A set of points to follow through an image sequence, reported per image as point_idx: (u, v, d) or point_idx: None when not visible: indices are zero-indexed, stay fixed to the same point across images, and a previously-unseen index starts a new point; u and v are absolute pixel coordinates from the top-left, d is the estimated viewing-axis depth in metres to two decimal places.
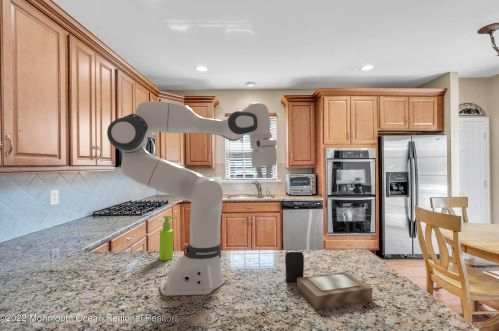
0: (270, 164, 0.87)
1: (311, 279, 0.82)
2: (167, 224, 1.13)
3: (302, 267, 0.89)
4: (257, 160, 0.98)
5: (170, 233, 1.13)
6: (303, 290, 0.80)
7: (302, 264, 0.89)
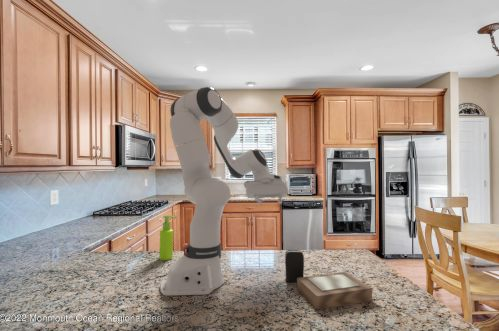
0: (287, 193, 1.14)
1: (311, 279, 0.82)
2: (167, 224, 1.13)
3: (302, 267, 0.89)
4: (264, 188, 1.12)
5: (170, 233, 1.13)
6: (303, 290, 0.80)
7: (302, 264, 0.89)
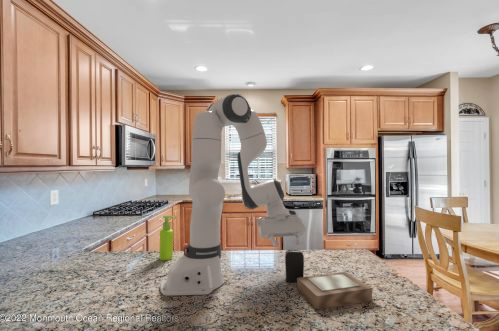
0: (304, 231, 1.04)
1: (311, 279, 0.82)
2: (167, 224, 1.13)
3: (302, 267, 0.89)
4: (279, 227, 1.01)
5: (170, 233, 1.13)
6: (303, 290, 0.80)
7: (302, 264, 0.89)
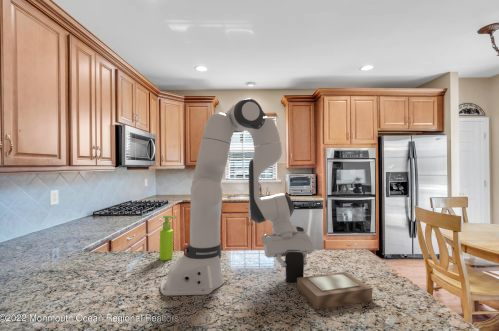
0: None
1: (311, 279, 0.82)
2: (167, 224, 1.13)
3: (302, 267, 0.89)
4: (286, 245, 0.94)
5: (170, 233, 1.13)
6: (303, 290, 0.80)
7: (302, 264, 0.89)
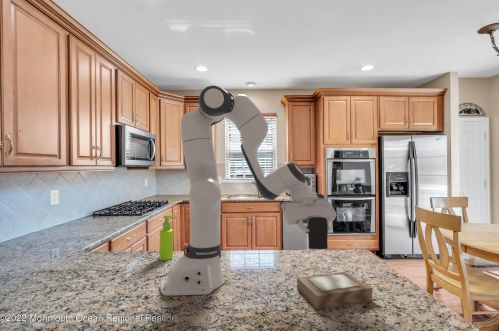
0: (335, 217, 0.91)
1: (311, 279, 0.82)
2: (167, 224, 1.13)
3: (326, 233, 0.84)
4: (307, 212, 0.89)
5: (170, 233, 1.13)
6: (303, 290, 0.80)
7: (326, 229, 0.84)
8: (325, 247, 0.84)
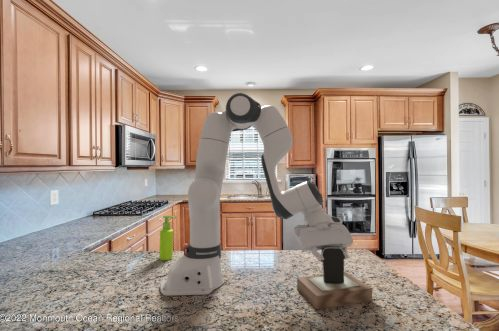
0: (352, 242, 0.86)
1: (311, 279, 0.82)
2: (167, 224, 1.13)
3: (342, 265, 0.79)
4: (322, 237, 0.84)
5: (170, 233, 1.13)
6: (303, 290, 0.80)
7: (342, 262, 0.79)
8: (341, 281, 0.79)
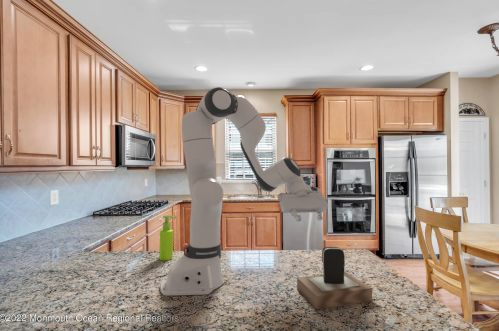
0: None
1: (311, 279, 0.82)
2: (167, 224, 1.13)
3: (343, 266, 0.79)
4: (301, 202, 0.98)
5: (170, 233, 1.13)
6: (303, 290, 0.80)
7: (343, 263, 0.79)
8: (342, 281, 0.79)
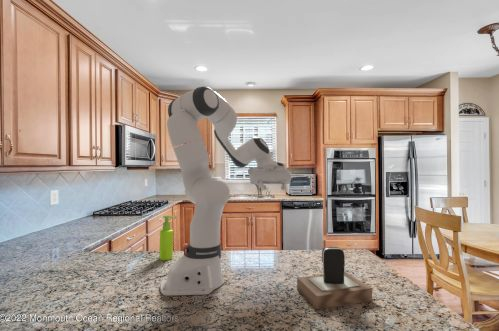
0: (290, 180, 1.15)
1: (311, 279, 0.82)
2: (167, 224, 1.13)
3: (343, 266, 0.79)
4: (267, 175, 1.13)
5: (170, 233, 1.13)
6: (303, 290, 0.80)
7: (343, 263, 0.79)
8: (342, 281, 0.79)
